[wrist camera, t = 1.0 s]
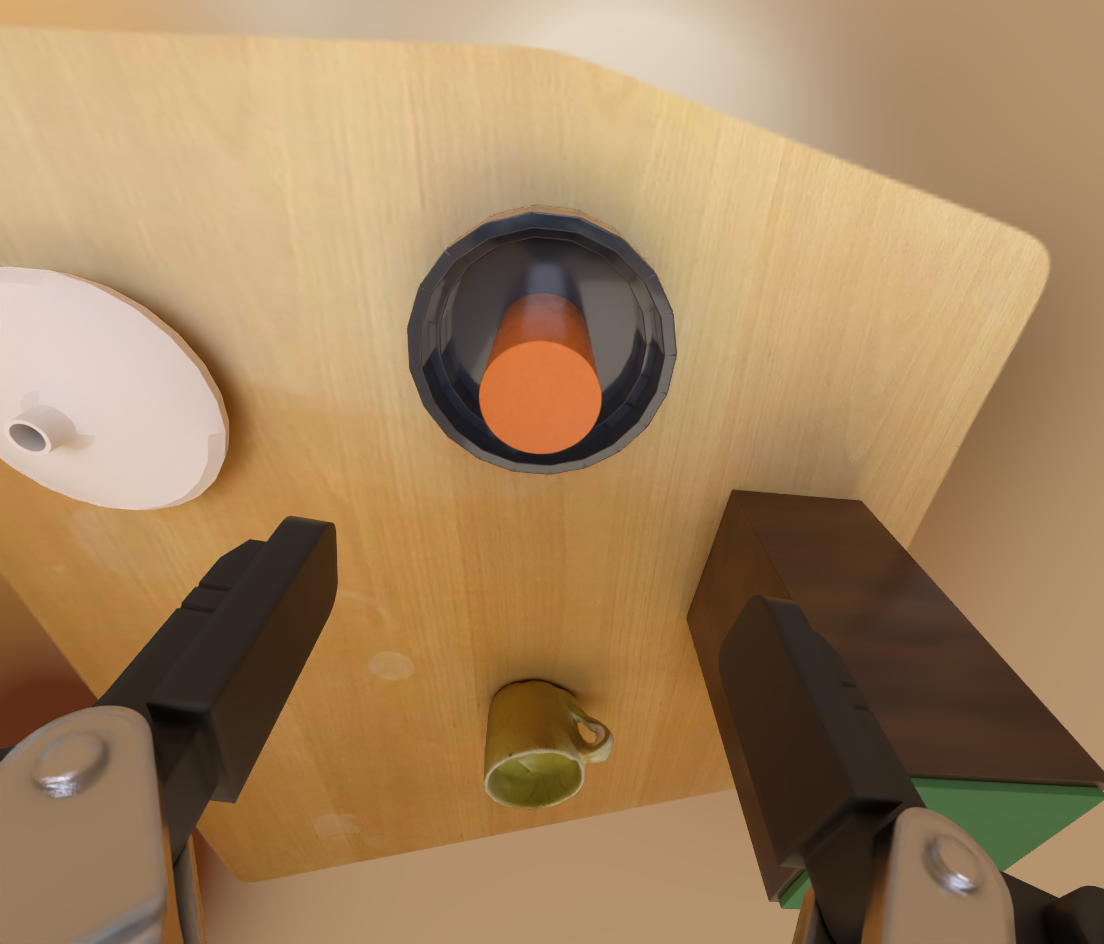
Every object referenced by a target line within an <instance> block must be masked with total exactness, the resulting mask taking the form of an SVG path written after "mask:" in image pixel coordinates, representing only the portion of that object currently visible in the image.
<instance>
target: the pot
mask: <svg viewBox="0 0 1104 944" xmlns="http://www.w3.org/2000/svg"><path fill="white" fill-rule="evenodd" d="M540 292H545V293H553V294H556V295H560V296H562V297H564V298H566V299H567V300H569V301H571V302H572V303H573V304H574V305H575V306H576V307H577V308H578V309H579V310H580V312H581V313H582V315H583V316H584V318H585V320H586V323H587V326H588V330H589V335H590V339H591V344H592V349H593V354H594V358H595V363H596V368H597V373H598V377H599V382H600V387H601V394H602V402H601V409H600V413H599V416H598V418H597V421H596V423H595V424H594V426H593V428H592V429H591V430H590V432H589V433H588V434H587V435H586V436H585V437H584V438H583V439H582V440H580V441H579V442H578V443H576V444H575V445H573V446H571V447H569V448H567V449H565V450H562V451H559V452H555V453H548V454H534V453H527V452H523V451H520V450H517V449H515V448H513V447H511V446H509V445H507V444H506V443H504V442H503V441H501V440H500V439H499V438H498V437H497V436H496V435H495V434H494V433H493V432H492V431H491V430H490V428H489V427H488V425H487V424H486V422H485V420H484V418H483V415H482V412H481V409H480V404H479V390H480V385H481V380H482V377H483V374H484V371H485V368H486V364H487V361H488V358H489V355H490V352H491V348H492V345H493V342H494V339H495V336H496V332H497V329H498V326H499V323H500V321H501V318H502V316H503V315H504V313H505V311H506V310H507V309H508V308H509V307H510V306H511V305H512V304H513V303H514V302H515V301H517V300H518V299H520V298H522V297H524V296H526V295H529V294H533V293H540ZM407 334H408V352H409V369H410V372H411V375H412V377H413V380H414V382H415V385H416V387H417V390H418V393H419V395H420V398H421V400H422V403H423V406H424V407H425V409H426V410H427V411H428V412H429V414H430V415H431V416H432V417H433V419H434V420H435V421H436V423H437V424H438V425H439V426H440V428H441V429H442V430H443V431H444V433H445V434H446V435H447V436H448V437H449V438H450V439H452V440H453V441H454V442H456V443H457V444H459V445H460V446H461V447H463V448H464V449H466V450H467V451H468V452H470V453H471V454H473V455H474V456H475V457H477V458H479V459H480V460H483V461H486V462H488V463H491V464H494V465H497V466H499V467H502V468H505V469H508V470H510V471H515V472H526V473H537V474H556V473H561V472H567V471H572V470H578V469H583V468H586V467H589V466H591V465H593V464H595V463H597V462H599V461H601V460H603V459H606V458H608V457H610V456H612V455H614V454H616V453H618V452H620V451H621V450H622V449H623V448H624V447H626V446H627V445H628V444H629V443H630V442H631V441H632V440H633V439H634V438H636V437H637V436H638V435H639V434H640V433H641V432H642V431H643V430H644V429H646V428H647V426H648V425H649V423H650V422H651V420H652V418H653V417H654V415H655V413H656V412H657V410H658V409H659V407H660V405H661V404H662V402H663V400H664V399H665V397H666V395H667V393H668V389H669V385H670V381H671V377H672V373H673V369H674V365H675V361H676V356H677V355H676V354H677V348H676V336H675V325H674V314H673V310H672V308H671V306H670V304H669V301H668V299H667V297H666V295H665V292H664V290H663V288H662V286H661V283H660V281H659V279H658V277H657V274H656V273H655V271H654V270H653V269H652V268H651V267H650V265H649V264H648V263H647V262H646V261H645V260H644V259H643V258H642V256H641V255H640V254H639V253H638V252H637V251H636V250H635V249H634V248H633V247H632V246H631V245H630V244H629V243H628V242H627V241H626V240H625V239H624V238H623V237H622V235H621V234H620V233H619V232H618V231H617V230H616V229H614V228H613V227H611V226H609V225H607V224H605V223H603V222H601V221H599V220H597V219H595V218H593V217H591V216H589V215H587V214H585V213H583V212H581V211H579V210H576V209H568V208H559V207H550V206H542V205H531V206H527V207H522V208H518V209H514V210H510V211H506V212H502V213H498V214H494V215H493V216H490V217H489V218H487V219H486V220H484V221H483V222H481V223H480V224H478V225H477V226H475V227H474V228H473V229H471V230H470V231H468V232H467V233H465V234H464V235H462V236H461V237H459V238H458V239H457V240H456V241H455V242H454V243H452V244H451V245H450V246H449V247H448V248H447V249H446V250H445V251H444V252H443V254H442V255H441V256H440V258H439V259H438V261H437V262H436V263H435V265H434V266H433V267H432V269H431V270H430V272H429V273H428V274H427V276H426V277H425V279H424V280H423V281H422V283H421V284H420V286H419V288H418V292H417V295H416V299H415V302H414V306H413V309H412V313H411V316H410V320H409V323H408V328H407Z"/></svg>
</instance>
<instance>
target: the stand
mask: <svg viewBox="0 0 1104 944" xmlns="http://www.w3.org/2000/svg"><path fill="white" fill-rule="evenodd" d="M753 595H761V596H767V597H773V598H779V599H785V600H791V601H794V602H796V603H797V604H798V605H799V606H800V607H801V609H802V611H803V612H804V614H805V616H806V618H807V620H808V622H809V624H810V626H811V627H812V629H813V631H814V632H819V633H820V634H821V635H822V636H823V637H824V638H825V639H826V640H827V641H828V643H829V644H830V645H831V646H832V647H833V648H834V649H835V650H836V651H837V652H838V653H839V654H840V655H841V656H842V658H843V660H844V662H845V663H846V665H847V667H848V669H849V670H850V672H851V674H852V676H853V678H854V679H855V681H856V683H857V684H856V687H857V689H860V690H861V692H862V694H863V695H864V697H865V699H866V701H867V703H868V704H869V711H870V712H873V713H874V715H875V717H876V719H877V720H878V722H879V724H880V726H881V727H882V729H883V731H884V733H885V735H886V736H887V738H888V740H889V742H890V743H891V745H892V747H893V749H894V751H895V752H896V754H897V756H898V758H899V759H900V761H901V763H902V765H903V767H904V768H905V770H906V772H907V774H908V776H909V777H910V778H928V779H947V780H965V781H984V782H1003V783H1021V784H1040V785H1058V786H1077V787H1096V788H1100V789H1101V790H1102V791H1103V790H1104V771H1103V770H1102V769H1101V767H1100V766H1099V765H1098V764H1097V763H1096V762H1095V761H1094V760H1093V759H1092V758H1091V756H1090V755H1089V754H1088V753H1087V752H1086V751H1085V750H1084V749H1083V747H1082V746H1081V745H1080V744H1079V743H1078V742H1077V741H1076V740H1075V738H1074V737H1073V736H1072V735H1071V734H1070V733H1069V732H1068V731H1067V729H1066V728H1065V727H1064V726H1063V725H1062V724H1061V723H1060V722H1059V721H1058V719H1057V718H1056V717H1055V716H1054V715H1053V714H1052V713H1051V712H1050V711H1049V710H1048V708H1047V707H1046V706H1045V705H1044V704H1043V703H1042V702H1041V701H1040V699H1039V698H1038V697H1037V696H1036V695H1035V694H1034V693H1033V692H1032V690H1030V688H1029V687H1028V686H1027V685H1026V684H1025V683H1024V682H1023V681H1022V680H1021V678H1020V677H1019V676H1018V675H1017V674H1016V673H1015V672H1014V670H1013V669H1012V668H1011V667H1010V666H1009V665H1008V664H1007V663H1006V661H1005V660H1004V659H1003V658H1002V657H1001V656H1000V655H999V654H998V653H997V652H996V651H995V649H994V648H993V647H992V646H991V645H990V644H989V643H988V642H987V640H986V639H985V638H984V637H983V636H982V635H981V634H980V633H979V631H978V630H977V629H976V628H975V627H974V626H973V625H972V624H971V623H970V621H969V620H968V619H967V618H966V617H965V616H964V615H963V614H962V612H961V611H960V610H959V609H958V608H957V607H956V606H955V605H954V604H953V602H952V601H951V600H950V599H949V598H948V597H947V596H946V595H945V594H944V592H943V591H942V590H941V589H940V588H939V587H938V586H937V585H936V583H935V582H934V581H933V580H932V579H931V578H930V577H929V576H928V575H927V573H926V572H925V571H924V570H923V569H922V568H921V567H920V566H919V565H918V563H917V562H916V561H915V560H914V559H913V558H912V557H911V556H910V555H909V553H908V552H907V551H906V550H905V549H904V548H903V547H902V546H901V544H900V543H899V542H898V541H897V540H896V539H895V538H894V537H893V536H892V534H891V533H890V532H889V531H888V530H887V529H886V528H885V527H884V526H883V524H882V523H881V522H880V521H879V520H878V519H877V518H876V517H875V516H874V514H873V513H872V512H871V511H870V510H869V509H868V508H867V507H866V505H865V504H864V503H863V502H862V501H856V500H844V499H832V498H820V497H808V496H797V495H785V494H773V493H761V492H750V491H738V490H733V491H732V493H731V496H730V499H729V501H728V504H727V507H726V510H725V513H724V515H723V518H722V521H721V524H720V527H719V529H718V532H717V535H716V538H715V541H714V543H713V546H712V549H711V552H710V554H709V557H708V560H707V563H706V566H705V568H704V571H703V574H702V577H701V580H700V582H699V585H698V588H697V591H696V594H695V596H694V599H693V602H692V605H691V607H690V610H689V613H688V616H687V622H688V625H689V629H690V632H691V635H692V639H693V642H694V646H695V649H696V653H697V656H698V659H699V663H700V666H701V670H702V673H703V677H704V680H705V683H706V687H707V690H708V694H709V697H710V701H711V704H712V708H713V711H714V714H715V718H716V721H717V725H718V728H719V732H720V735H721V738H722V742H723V745H724V749H725V752H726V756H727V759H728V762H729V766H730V769H731V773H732V776H733V780H734V783H735V786H736V790H737V793H738V797H739V800H740V804H741V807H742V810H743V814H744V817H745V820H746V824H747V827H748V831H749V834H750V838H751V841H752V845H753V848H754V852H755V855H756V858H757V862H758V865H759V869H760V872H761V876H762V879H763V882H764V886H765V889H766V893H767V896H768V899H769V901H771V902H779V899H780V898H781V896H782V895H783V894H784V893H785V892H786V891H787V890H788V889H789V888H790V886H791V885H792V884H793V883H794V882H795V881H796V880H797V879H798V878H799V876H800V875H801V874H802V873H803V872H804V871H805V870H806V869H799V868H790V867H781V866H778V864H777V860H776V857H775V854H774V851H773V847H772V844H771V841H770V837H769V834H768V831H767V828H766V824H765V821H764V818H763V815H762V811H761V808H760V805H759V802H758V798H757V795H756V792H755V789H754V785H753V782H752V779H751V776H750V772H749V769H748V766H747V762H746V759H745V756H744V753H743V749H742V746H741V743H740V740H739V736H738V733H737V730H736V727H735V723H734V720H733V717H732V714H731V710H730V707H729V704H728V700H727V697H726V694H725V691H724V687H723V684H722V681H721V678H720V674H719V666H718V660H719V652H720V648H721V645H722V643H723V641H724V639H725V638H726V636H727V634H728V633H729V631H730V629H731V628H732V626H733V624H734V623H735V621H736V619H737V618H738V616H739V614H740V613H741V611H742V609H743V608H744V606H745V604H746V603H747V601H748V600H749V598H751V597H752V596H753Z"/></svg>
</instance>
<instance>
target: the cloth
mask: <svg viewBox="0 0 1104 944" xmlns="http://www.w3.org/2000/svg"><path fill="white" fill-rule="evenodd" d="M910 779H911V781H912V783H913V784H914V786H915V788H916V790H917V792H918V793H919V795H920V797H921V799H922V800H923V802H924V804H925V805H926V807H927V808H928V809H929V810H932V811H935V812H937V813H939V814H941V815H943V816H945V817H946V818H948V819H950V820H951V821H953V822H954V823H956V824H957V825H958V826H960V827H961V828H962V829H963V830H965V831H966V832H967V833H968V834H969V835H970V836H971V837H972V838H973V839H974V840H975V841H976V842H977V843H978V844H979V845H980V846H981V847H982V848H983V849H984V851H985V852H986V853H987V854H988V856H989V857H990V858H991V860H992V861H993V862H994V864H995V865H996V867H997V868H998V870H1000V871H1002V872H1003V871H1004V870H1006V869H1007V868H1009V867H1010V866H1011V865H1013V864H1014V863H1016V862H1017V861H1018V860H1020V859H1021V858H1023V857H1024V856H1026V855H1027V854H1028V853H1030V852H1031V851H1033V850H1034V849H1036V848H1037V847H1038V846H1040V845H1041V844H1042V843H1044V842H1045V841H1047V840H1048V839H1050V838H1051V837H1053V836H1054V835H1055V834H1057V833H1058V832H1060V831H1061V830H1062V829H1064V828H1065V827H1066V826H1068V825H1070V824H1071V823H1072V822H1074V821H1075V820H1076V819H1078V818H1079V817H1081V816H1082V815H1084V814H1085V813H1087V812H1088V811H1089V810H1091V809H1092V808H1094V807H1095V806H1096V805H1098V804H1099V803H1101V802H1102V801H1104V792H1103V791H1102V790H1101V789H1100V788H1096V787H1077V786H1058V785H1040V784H1021V783H1003V782H984V781H965V780H947V779H928V778H910ZM811 886H812V884H811V881H810V878H809V875H808V872H807V869H806V870H805V871H804V872H803V873H802V874H801V875H800V876H799V878H798V879H797V880H796V881H795V882H794V883H793V884H792V885H791V886H790V888H789V889H788V890H787V891H786V892H785V893H784V894H783V895H782V896H781V898H780V899H779V903H780V906H781V908H783V909H801V906H802V902H803V898H804V895H805V893H806V891H807V890H808V888H809V887H811Z"/></svg>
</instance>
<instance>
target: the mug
mask: <svg viewBox="0 0 1104 944" xmlns="http://www.w3.org/2000/svg"><path fill="white" fill-rule="evenodd" d="M578 722H582V723H583V724H584V725H585V726H587V727H588V729H589V730H590V731H592V732H594V733H596V736H597V738H596V740H595V742H594V743H587V742H586V741H585V740H584V739H583V738H582V736H581V735H580V733H579V730H578V725H577V723H578ZM613 741H614V738H613V735H612V733H611V732H610V731H609V730H608V729H607V727H606V726H605V725H603V724H602V723H601V722H599V721H598V720H596V719H594V718H592V717H590V716H588V715H587V714H585V713H584V711H583V710H582V708H581V706H580V705H579V703H578V702H577V700H576V699H575V698H574V697H573V696H572V695H571V694H570V693H569V692H568V691H566V690H563V689H559V688H556V687H555V686H553V685H551V684H550V683H547V682H543V681H535V680H532V681H528V682H525V683H518V682H517V683H513V684H510V685H508V686H506V687H504V688H503V689H501V690H500V691H499V692H498V693H497V694H496V696H495V697H494V699H493V700H492V703H491V705H490V708H489V715H488V726H487V735H486V745H485V764H484V788H485V790H486V792H487V794H488V795H489V796H490V797H491V798H492V799H493V801H495V802H497V803H499V804H502V805H503V806H505V807H509V808H516V809H527V810H532V809H538V808H542V807H551V806H553V805H556V804H559V803H561V802H563V801H565V800H566V799H568V798H571V797H572V796H574V795H575V794H576V793H577V792H578V791H579V790H580V788H581V787H582V785H583V783H584V781H585V765H586V764H587V763H599V762H602V761H605V760H606V759H607V758H608V756H609V755H610V753H611V751H612V747H613Z"/></svg>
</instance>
